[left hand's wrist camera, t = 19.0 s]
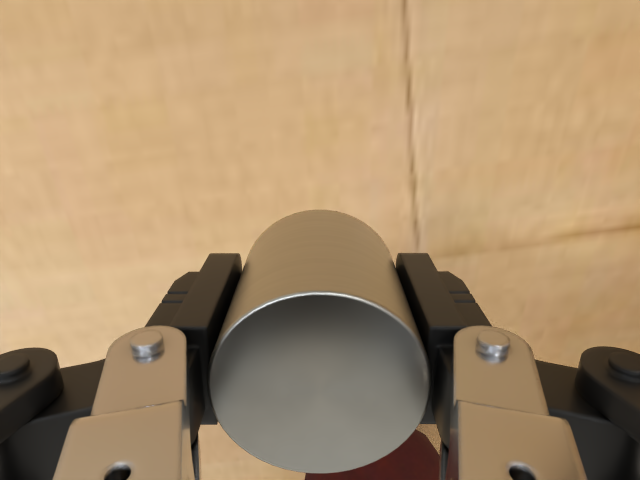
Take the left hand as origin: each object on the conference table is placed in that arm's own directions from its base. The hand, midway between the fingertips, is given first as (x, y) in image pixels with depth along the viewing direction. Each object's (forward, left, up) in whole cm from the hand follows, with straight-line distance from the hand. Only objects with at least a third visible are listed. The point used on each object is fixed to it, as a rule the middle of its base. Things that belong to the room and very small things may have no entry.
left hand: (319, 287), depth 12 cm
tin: (0, 0, 0) cm, 0 cm away
